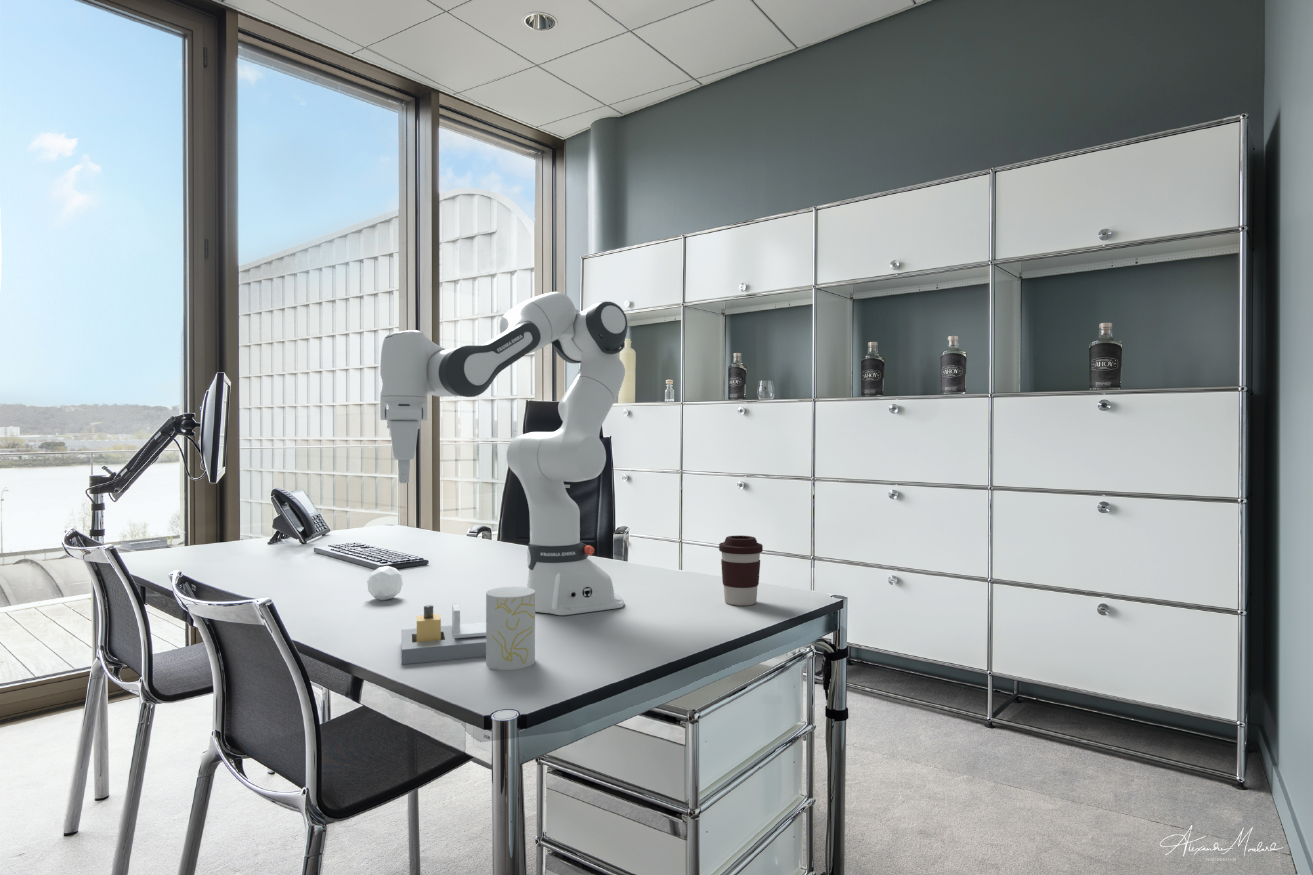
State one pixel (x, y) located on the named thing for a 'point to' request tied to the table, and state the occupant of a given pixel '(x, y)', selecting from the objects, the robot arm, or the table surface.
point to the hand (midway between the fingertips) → (403, 481)
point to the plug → (428, 625)
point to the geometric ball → (385, 583)
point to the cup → (510, 628)
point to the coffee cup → (740, 569)
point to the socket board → (440, 647)
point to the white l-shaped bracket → (465, 626)
